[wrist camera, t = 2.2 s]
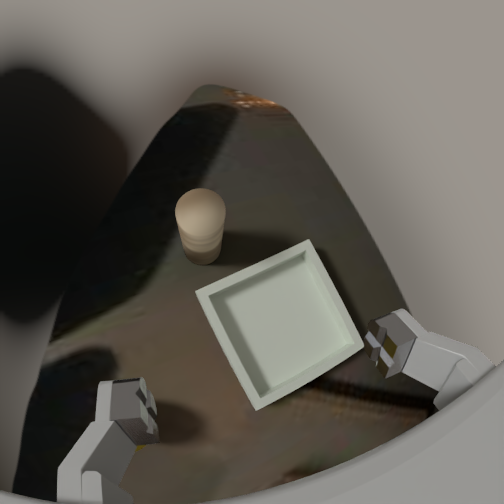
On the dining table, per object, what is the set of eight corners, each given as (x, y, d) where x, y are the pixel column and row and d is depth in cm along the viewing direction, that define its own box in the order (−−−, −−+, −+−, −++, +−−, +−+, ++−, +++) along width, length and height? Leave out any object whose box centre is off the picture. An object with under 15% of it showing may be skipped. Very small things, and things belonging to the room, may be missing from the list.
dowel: (227, 256, 35) (234, 222, 26) (192, 271, 34) (186, 242, 24) (211, 224, 36) (213, 181, 27) (178, 238, 35) (168, 199, 25)
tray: (353, 346, 34) (364, 346, 31) (252, 405, 30) (256, 410, 27) (301, 247, 37) (308, 239, 34) (196, 295, 33) (195, 291, 30)
